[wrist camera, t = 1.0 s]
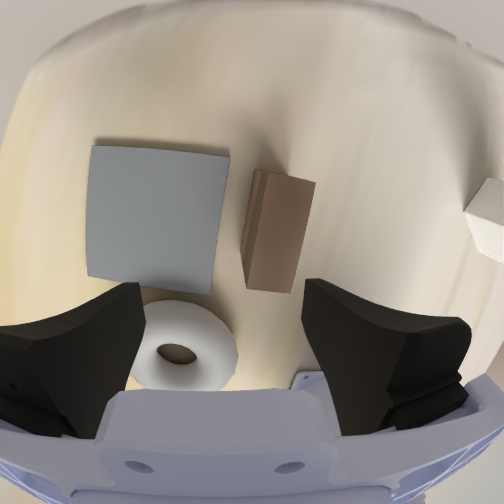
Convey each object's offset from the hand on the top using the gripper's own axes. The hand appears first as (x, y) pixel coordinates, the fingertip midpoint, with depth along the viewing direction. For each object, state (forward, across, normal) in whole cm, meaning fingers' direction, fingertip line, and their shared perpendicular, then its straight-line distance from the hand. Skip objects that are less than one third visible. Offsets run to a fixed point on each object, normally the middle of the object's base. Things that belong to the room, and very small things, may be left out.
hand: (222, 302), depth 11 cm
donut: (+7, +8, +12) cm, 16 cm away
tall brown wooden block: (+9, -3, -2) cm, 9 cm away
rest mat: (+9, +5, -2) cm, 10 cm away
